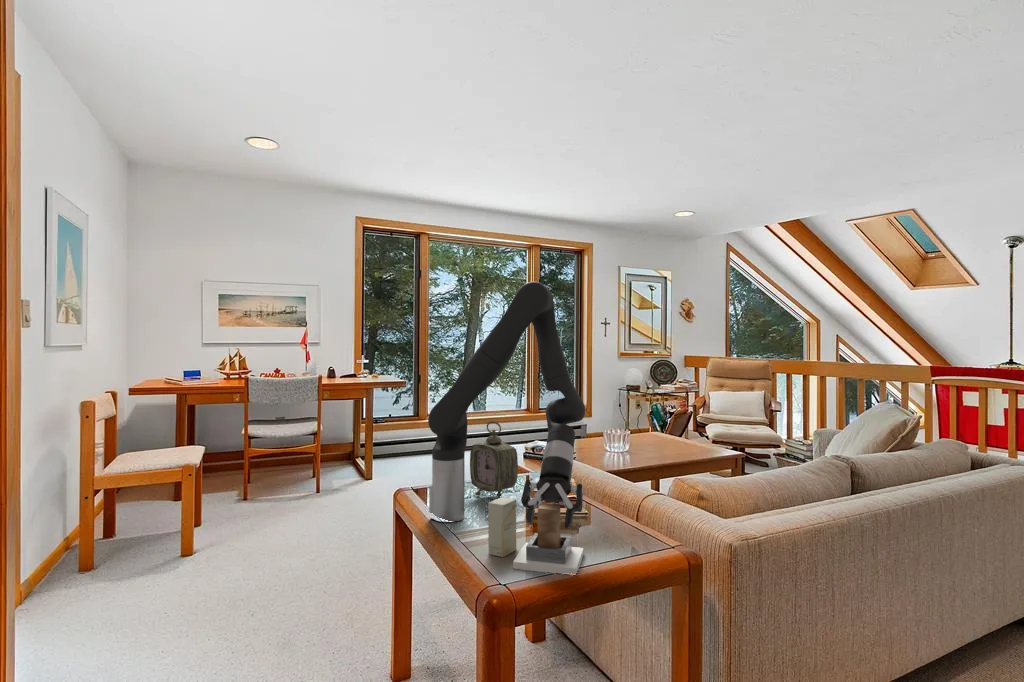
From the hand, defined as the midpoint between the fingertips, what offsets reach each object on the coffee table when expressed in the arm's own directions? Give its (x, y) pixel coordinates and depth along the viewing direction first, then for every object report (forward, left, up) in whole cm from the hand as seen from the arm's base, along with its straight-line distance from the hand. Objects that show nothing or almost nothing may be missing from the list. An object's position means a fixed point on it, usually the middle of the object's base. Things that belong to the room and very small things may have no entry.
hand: (548, 525), depth 118 cm
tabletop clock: (-27, +45, -9) cm, 54 cm away
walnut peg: (0, +1, -7) cm, 7 cm away
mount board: (0, +1, -9) cm, 9 cm away
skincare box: (-12, +4, -9) cm, 15 cm away
